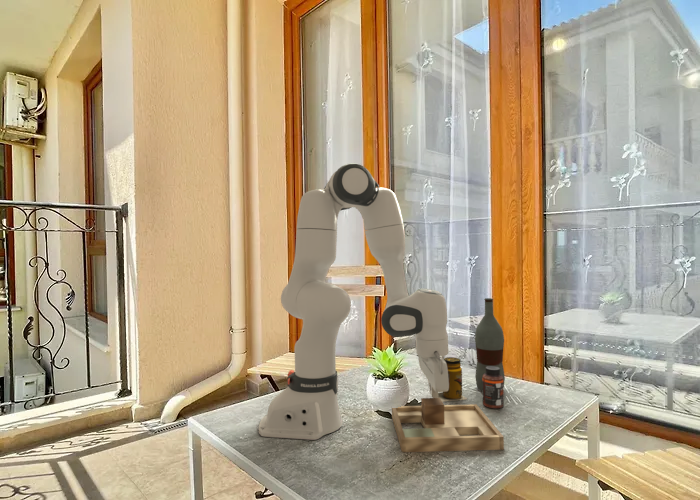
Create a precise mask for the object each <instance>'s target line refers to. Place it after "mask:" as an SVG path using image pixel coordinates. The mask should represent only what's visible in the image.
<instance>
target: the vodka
mask: <svg viewBox="0 0 700 500" xmlns="http://www.w3.org/2000/svg"><path fill="white" fill-rule="evenodd" d="M474 344H475V352H476V366H475V384H476V387H477V389H478V390H479V391H480V392H483V386H482V377H483V374H485V373H486V367H487V366H495V367H499V368H500V375H502V377H503V386H504V387H505V381H506V380H505V379H506V377H505V370H504V363H503V361H504V344H505V337H504V331H503V327H502V326H501V324H500V323H499V321H498V320H497V318H496V317H495V315H494V298H489V297H487V298H484V315H483V317H482V318H481V320H480V321H479V323H478V325H476V329H475V335H474Z"/></svg>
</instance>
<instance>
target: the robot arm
mask: <svg viewBox="0 0 700 500" xmlns="http://www.w3.org/2000/svg"><path fill="white" fill-rule="evenodd" d="M352 208H355V209H356V210H357V211H358V212H359V214H360V215H361V218H362V221H363V229H364V234H365V235H364V236H365V239H366V242H367V246H368V249H369V251H370V254H371V256H372V257H374V259H375V260H376V261H377V262H378V264H379V265H380V268H381V270H382V274H383V279H384V284H385V290H386V295H387V296H386V297H387V299H386V303H385V307H384V310H383V312H382V314H381V317H380V318H381V319H380V320H381V321H380V323H381V326H382V328H383V330H384V331H385V333H387V334H388V335H389V336H391V337H394V338H403V337H409V336H414V335H415V340H414V343H415V351H416V354H417V356H418V364H419V368H420V370H421V372H422V374H423V375H424V376H425V378H426V380H427V382H428V387H429V394H430V396H431V398H438V393H441V392H446V391H448V389H449V379H448V369H447V364H446V362H445V361H444V359H445V356H446V357H447V356H448V355H449V336H448V335H449V334H448V332H447V331H448V330H447V324H448V311H447V310H448V309H447V301H446V299H445V296H444V294H442V293H441V292H440V291H438V290H435V289H432V288H431V289H430V288H417V289H416V290H415V291H414V292H413V293H411V294H409V291H408V284H407V280H406V279H407V278H406V275H405V268H404V258H405V249H406V248H405V247H406V237H405V236H406V235H405V234H406V232H405V225H404V220H403V216H402V210H401V207H400V204H399V202H398V198H397V195H396V194H395V192H393V190H391V189H390V188H385V187H380V185H379V183H378V182H377V181H376V180H375V179H374V177H373V175H372V174H371V172H370V171H369V170H368V169H367V168H366V167H365V166H364V165H362V164H361V163H360V164H359V163H355V162H354V163H352V162H351V163H347V164H344V165H342V166H340V167H339V168H338V169H337V170H336V171H334V172H333V174H332V175H331V176H330V178H329V180H328V181H327V183H326V185H325V186H324V188H322V189H319V188H318V189H312V190H308V191H306V192H305V193H304V194H303V195H302V196H301V199H300V202H299V207H298V213H297V218H296V234H295V238H296V239H295V251H294V253H295V254H294V260H293V265H292V269H291V273H290V276H289V279H288V282H287V284H286V285H285V286H284V287H283V290H281V291H282V292H281V295H280V303H281V305H282V307H283V309H284V310H285V311H286V313H288V314H289V315H291V316H292V317H293V318H296V319H299V320H302V329H301V333H300V336H299V338H298V340H297V341H295V344H294V369H290V370H288V373H287V387H285V389H284V390H282V391H281V392H279V394H277V395H275V396H274V398H273V399H272V400H271V401H270V403H269V406H268V409H267V414H265V415H264V416H263V417H262V418H261V420H260V421H259V424H258V430H259V431H258V433H259V435H260V436H261V437H266V438H267V437H268V438H280V439H293V440H294V439H297V440H308V441H309V440H312V441H313V440H314V441H316V440H319V439H320V438H322V437H324V436H325V435H328V434H330V433H334V432H336V431H337V430H338V431H339V429H340V428H341V427H342V426H343V424H344V421H343V419H342V415H341V410H340V407H339V402H338V400H339V399H338V390H339V376H338V371H337V370H336V367H337V365H336V364H337V363H336V348H337V346H336V345H337V338H338V334H339V330H340V328H341V325H342V323H343V322H344V321H345V320H346V319H347V317H348V316H349V314H350V312H351V308H352V301H351V297H350V295H349V293H348V291H346V290H345V289H343V288H342V287H340V286H338V285H336V284H334V283H331V282H326V280H327V275H328V272H329V270H330V268H331V266H332V265H333V264H334V263H335V261H336V258H337V241H338V240H337V239H338V217H339V214H340V212H341V211H345V210H349V209H352Z"/></svg>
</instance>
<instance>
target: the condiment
mask: <svg viewBox="0 0 700 500" xmlns="http://www.w3.org/2000/svg"><path fill="white" fill-rule="evenodd" d="M444 361H445V362H446V364H447V369H448V379H449V389H448V391H446V392H438V398H440V399H441V401H442V402H443V403H445V402H451V401H452V402H453V401H455V402H456V401H462V400H463V401H464V400H465V401H466V400H468V398H467V397H466V396H464V395H463V368H462V367H461V366H462V365H461V359H460V358H458V357H453V356H452V357H451V356H449V357H447V356H446V357H444Z"/></svg>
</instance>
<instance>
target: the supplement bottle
mask: <svg viewBox="0 0 700 500" xmlns="http://www.w3.org/2000/svg"><path fill="white" fill-rule="evenodd" d="M482 386H483V391H482V404H483V406H485V407H486V408H490V409H494V410H495V409H501V408H503V407H504V403H505V401H504V395H505V394H504V392H505V391H504V388H505V385H504V386H503V377H502V375H500V368H499V367H495V366H487V367H486V373H485V374H483V377H482Z"/></svg>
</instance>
